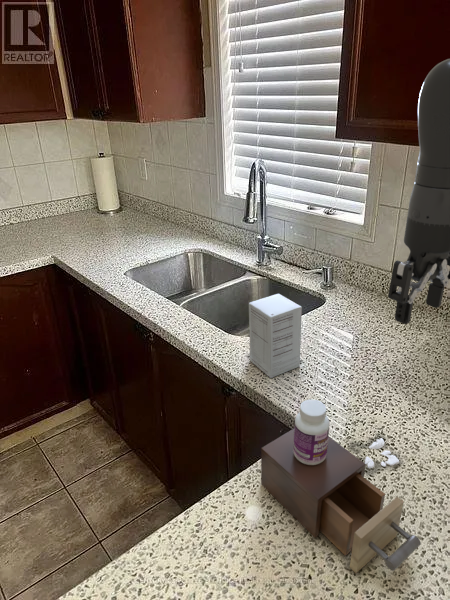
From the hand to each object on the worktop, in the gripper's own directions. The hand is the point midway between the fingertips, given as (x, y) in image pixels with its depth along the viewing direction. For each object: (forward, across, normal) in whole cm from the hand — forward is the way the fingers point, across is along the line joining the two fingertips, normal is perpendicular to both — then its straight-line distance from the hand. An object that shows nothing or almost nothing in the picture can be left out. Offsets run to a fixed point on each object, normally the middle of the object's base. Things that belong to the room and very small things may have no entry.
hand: (417, 313), depth 72 cm
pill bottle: (+20, -20, +3) cm, 29 cm away
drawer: (+29, -20, -8) cm, 36 cm away
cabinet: (+30, -20, +2) cm, 36 cm away
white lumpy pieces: (+30, -4, +1) cm, 31 cm away
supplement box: (+30, +2, +36) cm, 47 cm away
